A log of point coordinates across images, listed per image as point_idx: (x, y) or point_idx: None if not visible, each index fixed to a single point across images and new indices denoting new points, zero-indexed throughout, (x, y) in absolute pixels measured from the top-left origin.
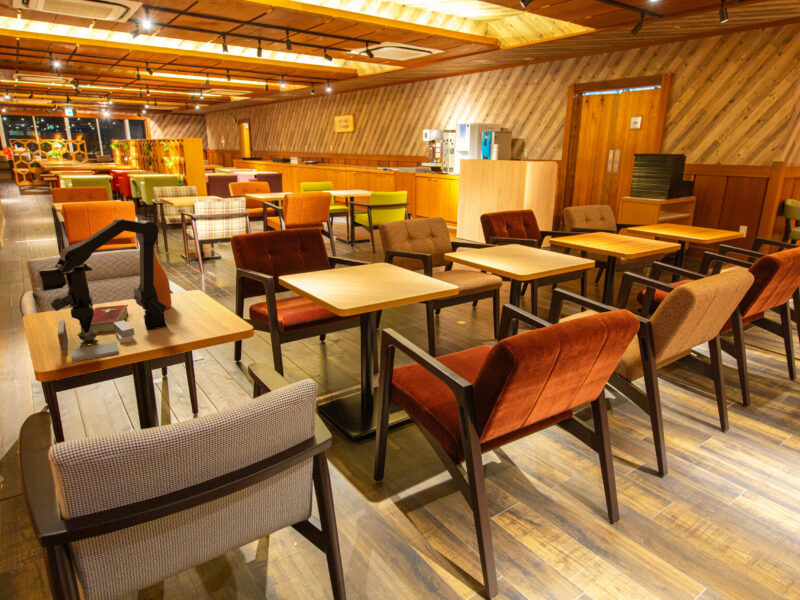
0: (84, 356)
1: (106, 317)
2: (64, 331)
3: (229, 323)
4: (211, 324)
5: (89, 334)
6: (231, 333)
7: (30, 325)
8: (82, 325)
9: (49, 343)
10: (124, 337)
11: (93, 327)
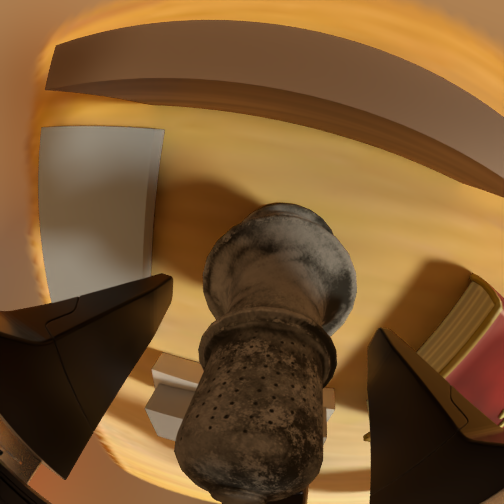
0: (40, 181)
1: None
2: (298, 103)
3: (178, 488)
4: (193, 484)
5: (214, 292)
6: (118, 461)
7: None
8: (90, 301)
9: (451, 75)
10: (155, 383)
11: (450, 343)
